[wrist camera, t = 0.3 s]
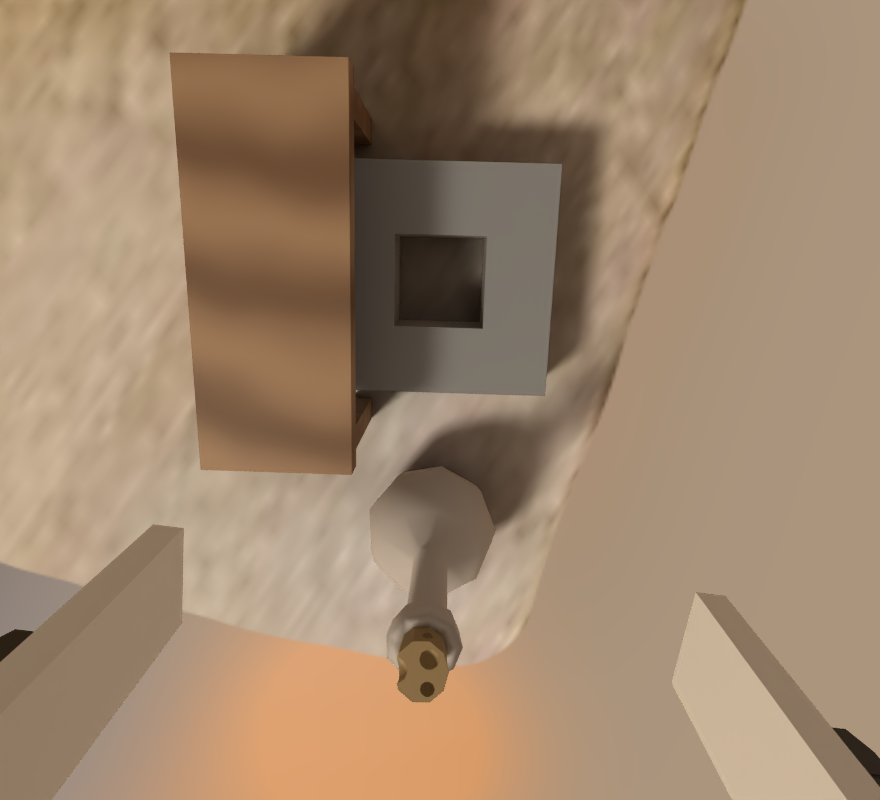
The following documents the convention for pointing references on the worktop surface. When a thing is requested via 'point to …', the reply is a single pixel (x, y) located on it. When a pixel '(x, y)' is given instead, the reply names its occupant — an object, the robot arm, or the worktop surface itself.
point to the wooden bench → (271, 257)
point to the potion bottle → (428, 568)
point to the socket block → (503, 274)
